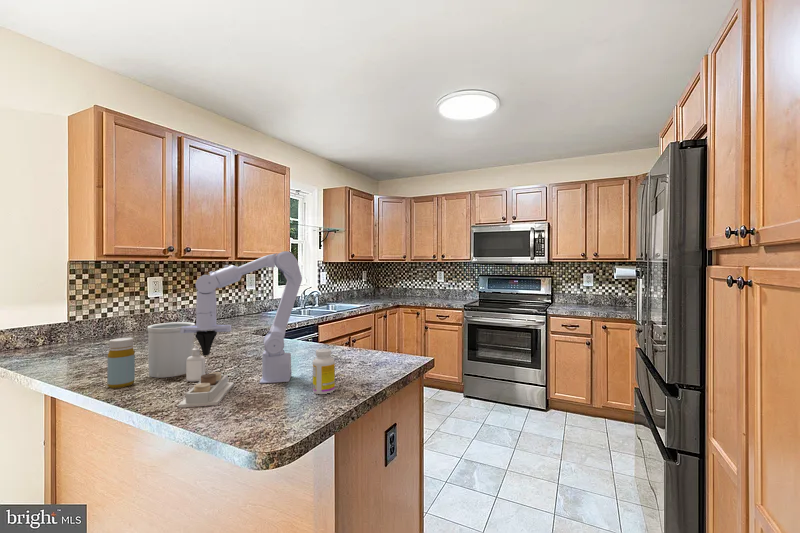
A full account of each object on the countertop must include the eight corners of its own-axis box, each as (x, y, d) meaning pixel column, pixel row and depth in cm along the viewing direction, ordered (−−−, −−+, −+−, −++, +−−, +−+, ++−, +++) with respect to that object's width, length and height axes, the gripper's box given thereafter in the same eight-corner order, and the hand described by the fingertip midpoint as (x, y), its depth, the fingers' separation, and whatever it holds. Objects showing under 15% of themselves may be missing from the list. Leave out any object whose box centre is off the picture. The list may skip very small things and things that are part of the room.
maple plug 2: (222, 384, 116) (222, 371, 116) (219, 388, 112) (219, 375, 112) (209, 385, 115) (209, 372, 115) (205, 389, 112) (205, 376, 112)
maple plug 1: (212, 396, 105) (212, 382, 106) (207, 400, 102) (207, 386, 102) (197, 397, 105) (197, 383, 105) (192, 401, 101) (192, 387, 101)
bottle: (139, 383, 120) (139, 338, 120) (115, 389, 113) (115, 342, 113) (126, 380, 123) (127, 336, 123) (102, 387, 116) (103, 340, 116)
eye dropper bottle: (194, 383, 120) (194, 347, 120) (184, 380, 123) (184, 345, 123) (207, 379, 124) (207, 344, 124) (196, 377, 127) (196, 343, 127)
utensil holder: (202, 370, 135) (203, 323, 135) (159, 381, 122) (159, 329, 123) (182, 365, 143) (182, 320, 143) (139, 374, 130) (139, 325, 131)
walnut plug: (217, 386, 111) (217, 373, 111) (213, 390, 107) (213, 377, 107) (203, 387, 110) (203, 374, 110) (198, 391, 106) (198, 377, 106)
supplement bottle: (338, 389, 113) (338, 348, 114) (327, 396, 107) (327, 353, 107) (320, 387, 116) (320, 347, 116) (308, 394, 109) (308, 351, 109)
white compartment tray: (233, 384, 118) (233, 374, 118) (217, 404, 101) (217, 392, 101) (200, 386, 116) (200, 375, 116) (178, 407, 99) (178, 394, 99)
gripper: (233, 310, 121) (233, 351, 121) (186, 311, 118) (186, 353, 118) (228, 313, 114) (228, 355, 114) (177, 314, 111) (177, 358, 111)
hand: (206, 354), depth 116 cm, fingers closed
